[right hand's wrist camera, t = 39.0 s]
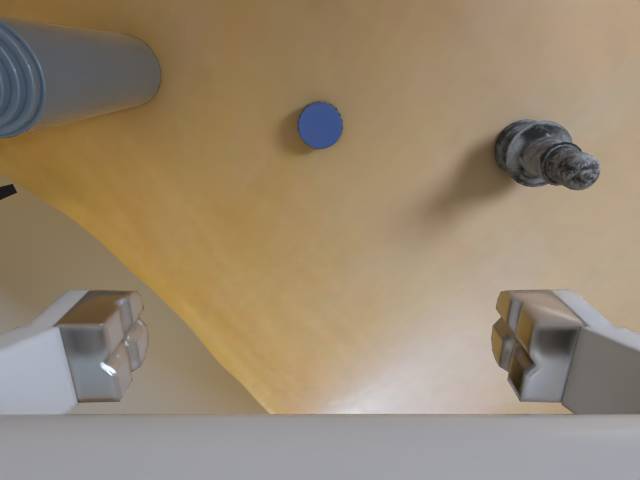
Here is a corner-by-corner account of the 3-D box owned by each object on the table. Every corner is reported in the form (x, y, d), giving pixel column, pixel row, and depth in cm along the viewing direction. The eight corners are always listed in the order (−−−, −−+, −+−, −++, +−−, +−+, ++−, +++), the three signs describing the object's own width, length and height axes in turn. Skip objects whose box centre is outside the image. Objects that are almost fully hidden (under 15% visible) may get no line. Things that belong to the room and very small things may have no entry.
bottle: (150, 28, 39) (-70, -15, 17) (168, 101, 41) (-4, 147, 19) (82, 39, 39) (-221, 10, 17) (104, 111, 42) (-138, 166, 20)
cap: (316, 91, 41) (316, 92, 39) (350, 120, 42) (352, 122, 40) (289, 127, 42) (288, 130, 40) (323, 154, 43) (324, 158, 41)
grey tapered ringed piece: (525, 188, 44) (595, 230, 33) (479, 158, 43) (534, 191, 32) (566, 136, 42) (654, 163, 31) (518, 104, 41) (592, 119, 30)
